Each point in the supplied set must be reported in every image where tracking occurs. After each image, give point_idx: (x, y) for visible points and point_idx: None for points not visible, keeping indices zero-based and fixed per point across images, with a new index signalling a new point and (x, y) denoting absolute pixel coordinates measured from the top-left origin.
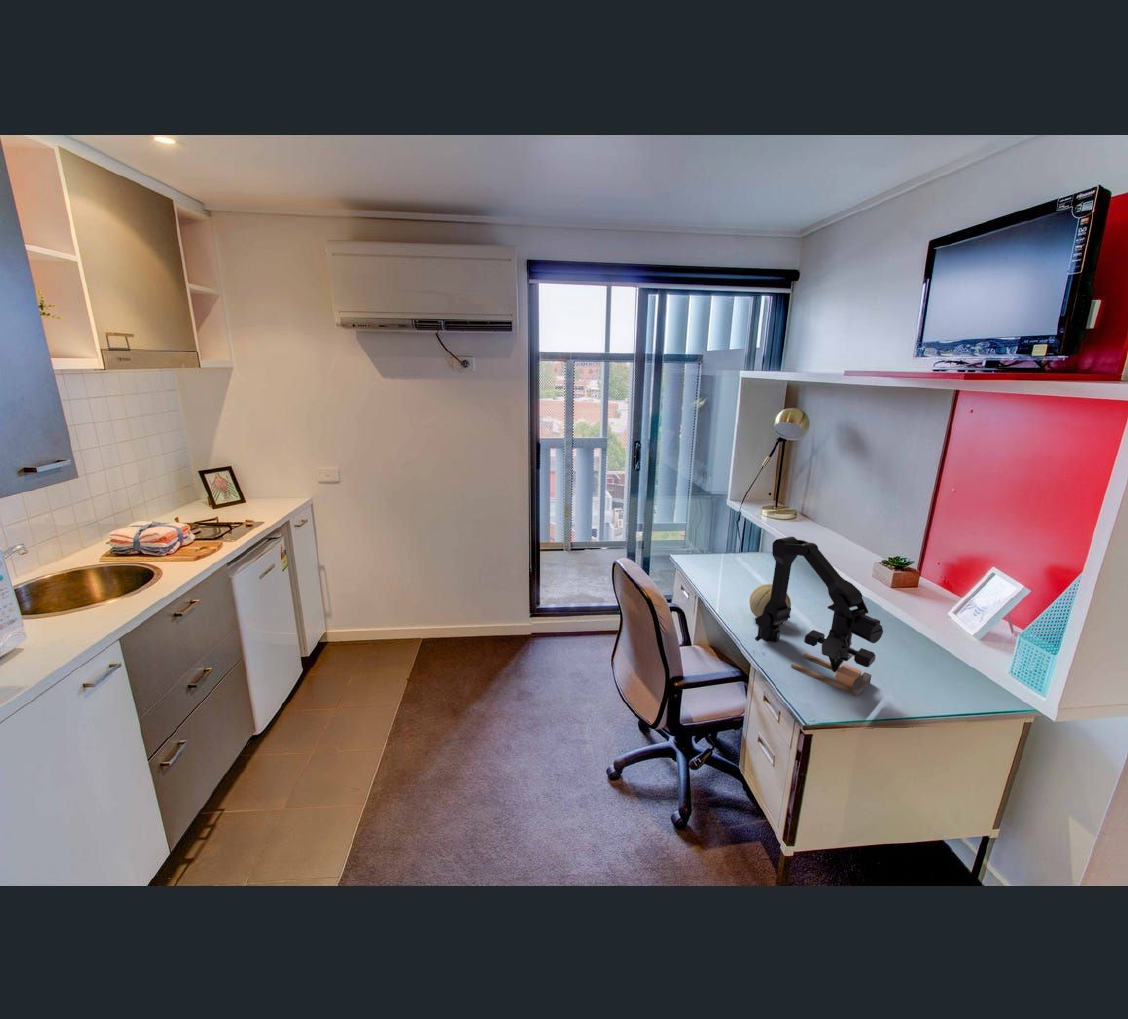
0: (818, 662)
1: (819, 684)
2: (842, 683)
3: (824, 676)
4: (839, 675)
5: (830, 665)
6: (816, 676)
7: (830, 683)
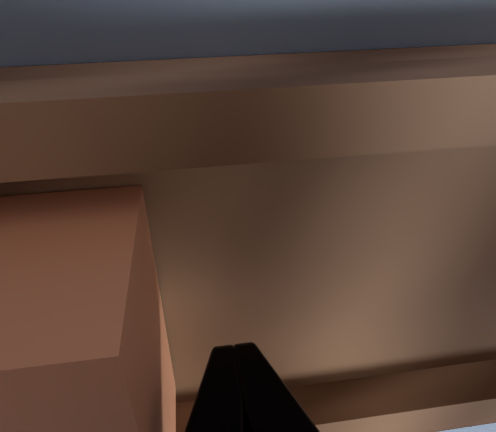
0: (450, 378)
1: (302, 5)
2: (8, 218)
3: (305, 152)
4: (47, 300)
5: (333, 420)
6: (415, 68)
7: (155, 81)
